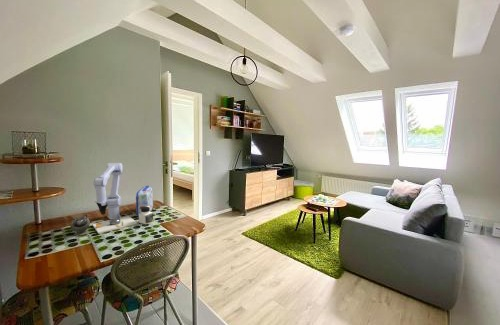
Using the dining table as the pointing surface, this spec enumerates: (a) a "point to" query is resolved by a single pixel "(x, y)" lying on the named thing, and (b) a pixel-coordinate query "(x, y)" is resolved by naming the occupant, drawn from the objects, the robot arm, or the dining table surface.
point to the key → (108, 222)
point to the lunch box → (144, 199)
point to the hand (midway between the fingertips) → (102, 213)
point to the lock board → (123, 223)
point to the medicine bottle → (145, 215)
